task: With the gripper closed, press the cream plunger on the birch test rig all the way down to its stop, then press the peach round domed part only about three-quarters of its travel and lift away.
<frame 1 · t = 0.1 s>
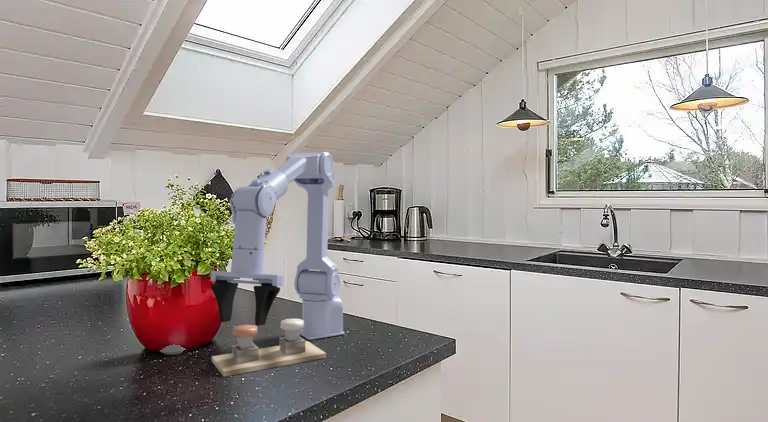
hand: (242, 323, 94), 11 cm above the worktop, tool pointing down, fingers open, 7 cm apart
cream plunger: (292, 330, 107), point 5 cm above the worktop, slide at 0.0 cm
peach round domed part: (245, 337, 102), point 5 cm above the worktop, slide at 0.0 cm
test rig: (269, 359, 105), on the worktop
beverage can: (174, 352, 110), on the worktop
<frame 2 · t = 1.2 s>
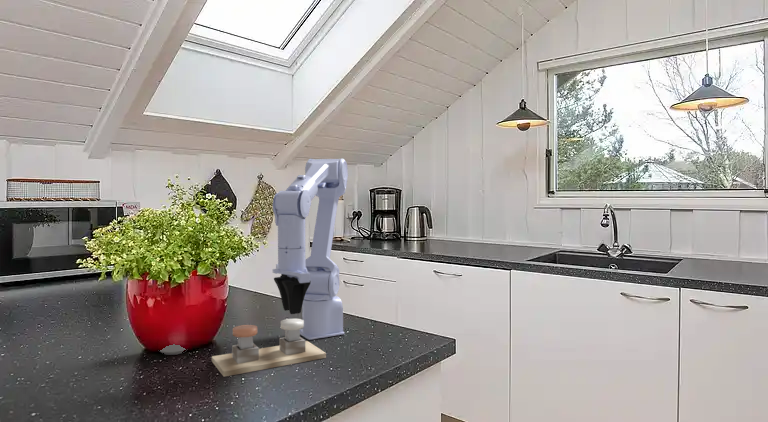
hand: (292, 311, 107), 9 cm above the worktop, tool pointing down, fingers open, 3 cm apart
nothing on the worktop moved.
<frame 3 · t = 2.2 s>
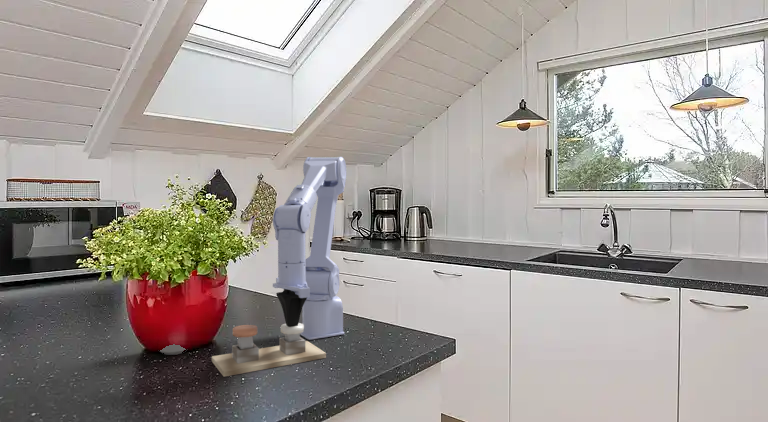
hand: (292, 325, 107), 6 cm above the worktop, tool pointing down, fingers closed, pressing on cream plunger
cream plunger: (292, 334, 107), point 5 cm above the worktop, slide at 0.9 cm, touching gripper
everything else where it was.
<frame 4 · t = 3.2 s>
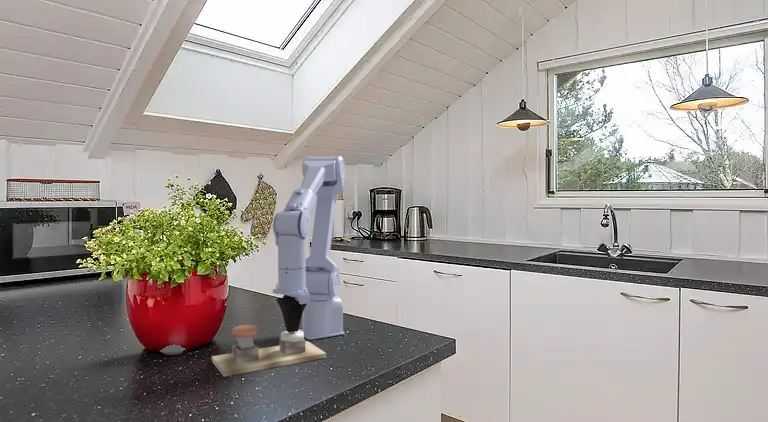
hand: (292, 331, 107), 5 cm above the worktop, tool pointing down, fingers closed
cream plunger: (292, 341, 107), point 3 cm above the worktop, slide at 2.5 cm
everything else where it was.
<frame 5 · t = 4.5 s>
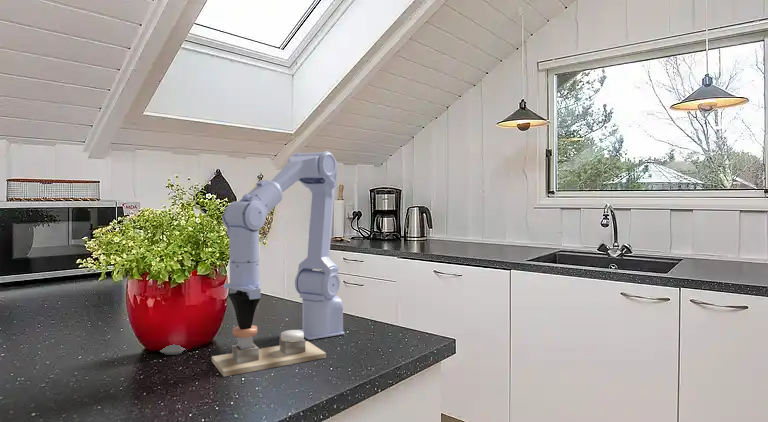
hand: (245, 328, 102), 7 cm above the worktop, tool pointing down, fingers closed, pressing on peach round domed part
peach round domed part: (245, 337, 102), point 5 cm above the worktop, slide at 0.0 cm, touching gripper
everything else where it was.
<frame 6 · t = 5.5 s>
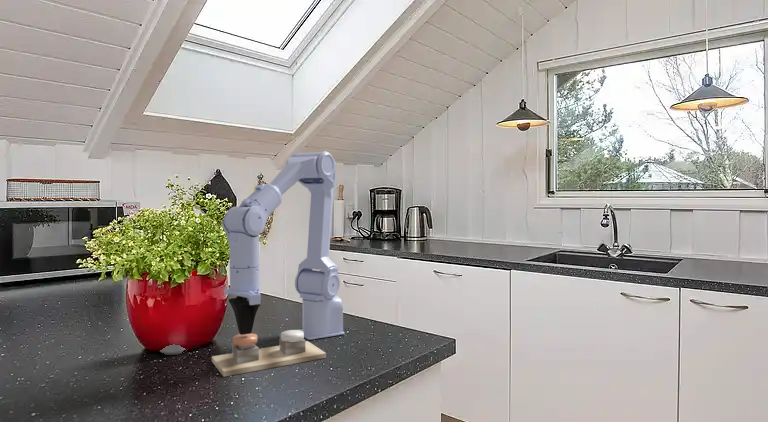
hand: (245, 333, 102), 6 cm above the worktop, tool pointing down, fingers closed
peach round domed part: (245, 345, 102), point 4 cm above the worktop, slide at 1.7 cm
everything else where it was.
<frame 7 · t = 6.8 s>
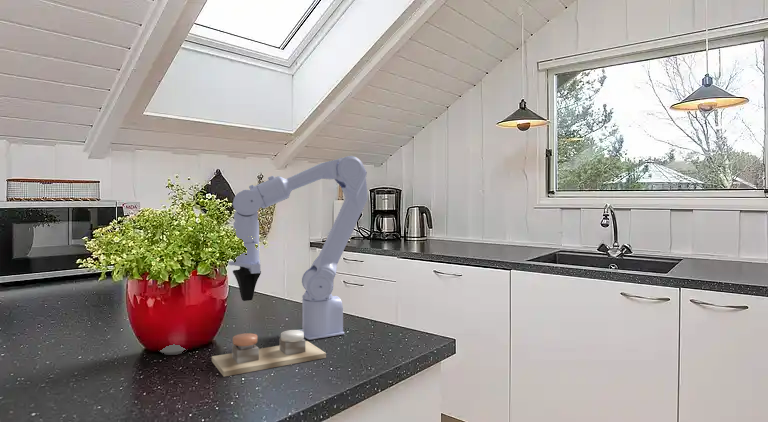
hand: (247, 300, 118), 9 cm above the worktop, tool pointing down, fingers closed
nothing on the worktop moved.
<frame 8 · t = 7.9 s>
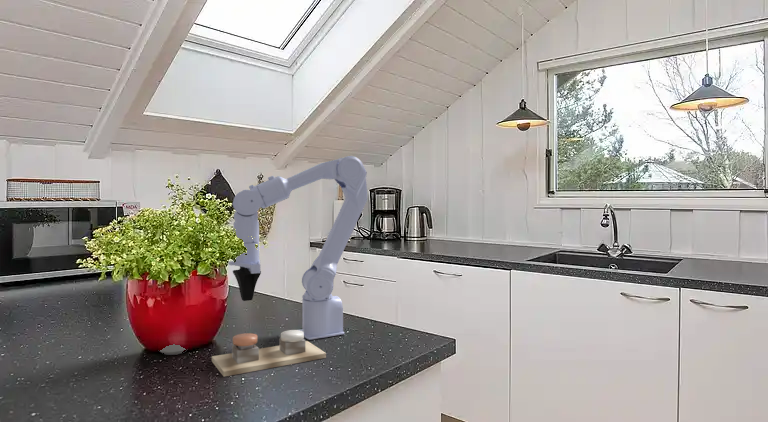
hand: (247, 300, 118), 9 cm above the worktop, tool pointing down, fingers closed
nothing on the worktop moved.
at the end: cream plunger slide at 2.5 cm; peach round domed part slide at 1.7 cm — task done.
